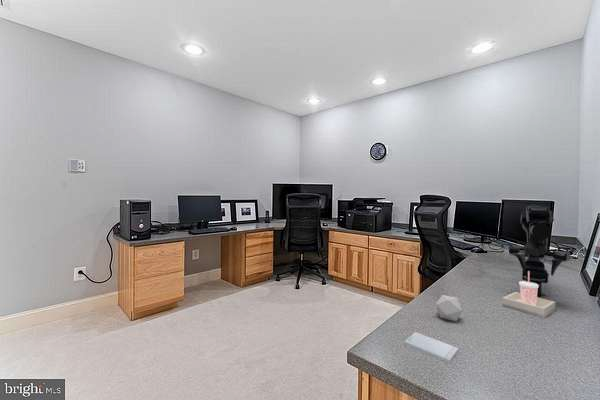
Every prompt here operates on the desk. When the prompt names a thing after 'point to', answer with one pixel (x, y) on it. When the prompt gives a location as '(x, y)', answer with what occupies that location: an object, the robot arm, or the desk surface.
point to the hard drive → (432, 347)
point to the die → (449, 308)
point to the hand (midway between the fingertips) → (537, 272)
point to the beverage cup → (528, 291)
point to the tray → (529, 305)
